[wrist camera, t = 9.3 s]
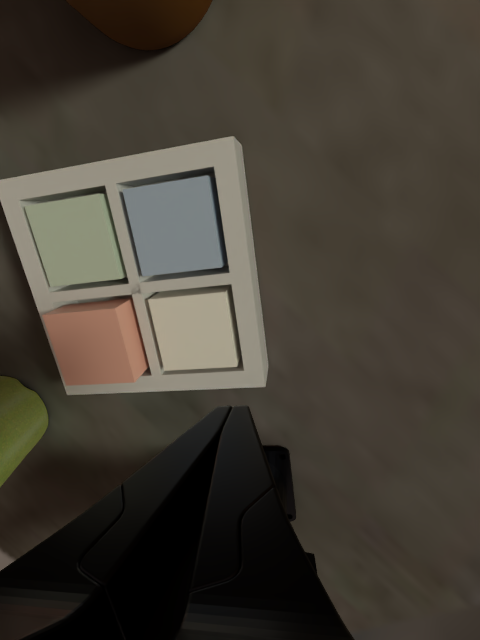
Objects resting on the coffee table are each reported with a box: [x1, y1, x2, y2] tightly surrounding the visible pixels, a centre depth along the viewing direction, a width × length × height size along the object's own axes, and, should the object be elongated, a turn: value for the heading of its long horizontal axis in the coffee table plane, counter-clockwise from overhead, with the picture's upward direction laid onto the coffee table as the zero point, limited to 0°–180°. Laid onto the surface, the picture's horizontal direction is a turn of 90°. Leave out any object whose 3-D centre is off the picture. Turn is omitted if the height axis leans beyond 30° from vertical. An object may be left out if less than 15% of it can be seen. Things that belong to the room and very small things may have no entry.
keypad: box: [0, 136, 269, 395], centre depth 19 cm, size 13×13×3 cm
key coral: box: [42, 298, 149, 386], centre depth 19 cm, size 4×4×2 cm
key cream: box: [148, 284, 242, 371], centre depth 19 cm, size 4×4×2 cm
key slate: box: [123, 175, 228, 276], centre depth 18 cm, size 4×4×2 cm
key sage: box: [24, 194, 127, 287], centre depth 19 cm, size 4×4×2 cm
